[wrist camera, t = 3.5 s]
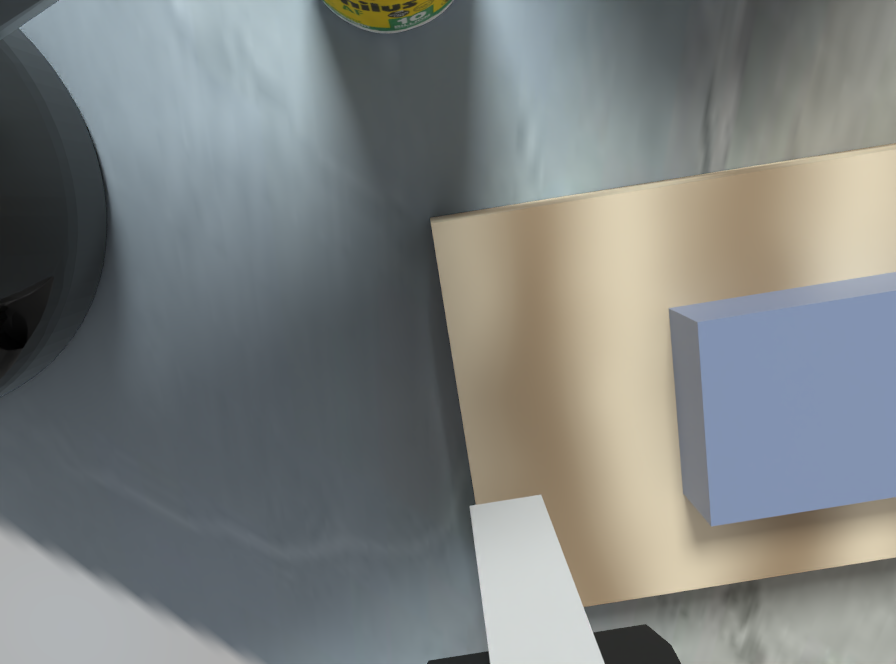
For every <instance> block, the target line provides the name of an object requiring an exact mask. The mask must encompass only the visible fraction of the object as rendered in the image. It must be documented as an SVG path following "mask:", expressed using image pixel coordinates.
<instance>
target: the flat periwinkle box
mask: <svg viewBox="0 0 896 664" xmlns="http://www.w3.org/2000/svg"><path fill="white" fill-rule="evenodd" d="M669 319H670V331H671V344H672V357H673V370H674V383H675V396H676V409H677V422H678V434H679V447H680V460H681V473H682V486H683V494H684V495H685V496H686V497H687V498H688V500H689V501H690V502H691V503H692V504H693V506H694V507H695V508H696V509H697V510H698V511H699V513H700V514H701V515H702V516H703V517H704V518H705V520H706V521H707V522H708V523H709V524H710V526H718V525H724V524H730V523H736V522H743V521H749V520H755V519H761V518H768V517H774V516H780V515H786V514H793V513H799V512H805V511H812V510H818V509H824V508H830V507H837V506H843V505H849V504H855V503H862V502H868V501H874V500H880V499H887V498H893V497H896V272H892V273H886V274H880V275H873V276H867V277H861V278H855V279H848V280H842V281H836V282H830V283H823V284H817V285H811V286H804V287H798V288H792V289H786V290H779V291H773V292H767V293H761V294H754V295H748V296H742V297H736V298H729V299H723V300H717V301H711V302H704V303H698V304H692V305H686V306H679V307H673V308H669Z"/></svg>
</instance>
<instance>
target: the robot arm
mask: <svg viewBox="0 0 896 664" xmlns="http://www.w3.org/2000/svg"><path fill="white" fill-rule="evenodd" d="M57 1H59V0H0V397H1V396H3V395H5V394H7V393H9V392H11V391H12V390H14V389H16V388H18V387H20V386H21V385H23V384H24V383H26V382H27V381H29V380H30V379H32V378H33V377H34V376H35V375H37V374H38V373H39V372H41V371H42V370H43V369H44V368H45V367H46V366H47V365H48V364H50V363H51V362H52V361H53V360H54V359H55V358H56V357H57V356H58V354H59V353H60V352H61V351H62V350H63V349H64V348H65V346H66V345H67V344H68V342H69V341H70V340H71V338H72V337H73V336H74V334H75V333H76V331H77V330H78V328H79V326H80V325H81V323H82V321H83V319H84V317H85V316H86V314H87V312H88V310H89V308H90V305H91V303H92V300H93V298H94V295H95V293H96V289H97V286H98V283H99V280H100V276H101V271H102V267H103V262H104V255H105V249H106V235H107V213H106V201H105V193H104V186H103V180H102V175H101V171H100V167H99V163H98V159H97V156H96V153H95V149H94V146H93V143H92V141H91V138H90V135H89V133H88V130H87V128H86V125H85V123H84V121H83V119H82V117H81V115H80V112H79V110H78V108H77V106H76V105H75V103H74V101H73V99H72V97H71V95H70V94H69V92H68V90H67V89H66V87H65V86H64V84H63V82H62V81H61V79H60V78H59V76H58V75H57V73H56V72H55V71H54V69H53V68H52V67H51V65H50V64H49V62H48V61H47V60H46V58H45V57H44V56H43V55H42V54H41V52H40V51H39V50H38V49H37V48H36V47H35V45H34V44H33V43H32V42H31V41H30V40H29V39H28V38H27V37H26V36H25V35H24V34H23V33H22V31H21V30H20V29H19V27H21V26H22V25H23V24H25V23H26V22H28V21H29V20H31V19H32V18H34V17H35V16H37V15H38V14H40V13H41V12H43V11H44V10H45V9H47V8H48V7H50V6H51V5H53V4H54V3H56V2H57ZM470 513H471V521H472V528H473V536H474V544H475V551H476V559H477V566H478V574H479V581H480V589H481V597H482V604H483V612H484V619H485V627H486V634H487V642H488V650H489V651H487V652H481V653H475V654H468V655H462V656H455V657H449V658H443V659H436V660H430V661H428V663H427V664H681V663H680V661H679V659H678V657H677V655H676V653H675V651H674V650H673V648H672V646H671V645H670V644H669V643H668V642H667V641H666V640H664V639H663V638H662V637H661V636H660V635H658V634H657V633H656V632H655V631H653V630H652V629H651V628H650V627H649V626H647V625H646V624H645V625H638V626H632V627H625V628H619V629H613V630H606V631H600V632H594V633H593V631H592V629H591V626H590V623H589V621H588V618H587V615H586V613H585V610H584V607H583V605H582V602H581V599H580V597H579V594H578V591H577V589H576V586H575V583H574V581H573V578H572V575H571V573H570V570H569V567H568V565H567V562H566V559H565V557H564V554H563V551H562V549H561V546H560V543H559V541H558V538H557V535H556V533H555V530H554V527H553V525H552V522H551V520H550V517H549V514H548V512H547V509H546V506H545V504H544V501H543V498H542V496H541V495H535V496H529V497H522V498H516V499H510V500H503V501H497V502H491V503H484V504H478V505H472V506H470Z"/></svg>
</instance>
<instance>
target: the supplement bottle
mask: <svg viewBox="0 0 896 664" xmlns="http://www.w3.org/2000/svg"><path fill="white" fill-rule="evenodd" d="M322 1H323V2H324V3H325V5H326V6H327V7H328V8H329V9H330V10H331V11H332V12H334V13H335V14H336V15H337V16H339V17H340V18H342V19H343V20H345V21H346V22H348V23H350V24H352V25H354V26H356V27H358V28H361V29H363V30H367V31H371V32H375V33H390V34H391V33H398V32H403V31H407V30H410V29H413V28H416V27H419V26H422V25H424V24H426V23H428V22H430V21H432V20H434V19H435V18H436V17H438V16H439V15H441V14H442V13H443V12H444V11H445V10H446V9H447V8H448V7H449V6H450V5H451V4H452V2H453V1H454V0H322Z"/></svg>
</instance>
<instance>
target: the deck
mask: <svg viewBox="0 0 896 664" xmlns="http://www.w3.org/2000/svg"><path fill="white" fill-rule="evenodd" d="M430 221H431V228H432V234H433V240H434V246H435V253H436V259H437V265H438V271H439V278H440V284H441V290H442V296H443V303H444V309H445V315H446V321H447V328H448V334H449V340H450V346H451V353H452V359H453V365H454V371H455V378H456V384H457V390H458V396H459V403H460V409H461V415H462V421H463V428H464V434H465V440H466V446H467V453H468V459H469V465H470V471H471V478H472V484H473V490H474V496H475V503H476V505H478V504H484V503H491V502H497V501H503V500H510V499H516V498H522V497H529V496H535V495H541V496H542V498H543V501H544V504H545V506H546V509H547V512H548V514H549V517H550V520H551V522H552V525H553V527H554V530H555V533H556V535H557V538H558V541H559V543H560V546H561V549H562V551H563V554H564V557H565V559H566V562H567V565H568V567H569V570H570V573H571V575H572V578H573V581H574V583H575V586H576V589H577V591H578V594H579V597H580V599H581V602H582V605H583V607H588V606H594V605H600V604H606V603H613V602H619V601H625V600H631V599H638V598H644V597H650V596H656V595H663V594H669V593H675V592H682V591H688V590H694V589H700V588H707V587H713V586H719V585H725V584H732V583H738V582H744V581H751V580H757V579H763V578H769V577H776V576H782V575H788V574H794V573H801V572H807V571H813V570H819V569H826V568H832V567H838V566H845V565H851V564H857V563H863V562H870V561H876V560H882V559H888V558H895V557H896V497H893V498H887V499H880V500H874V501H868V502H862V503H855V504H849V505H843V506H837V507H830V508H824V509H818V510H812V511H805V512H799V513H793V514H786V515H780V516H774V517H768V518H761V519H755V520H749V521H743V522H736V523H730V524H724V525H718V526H710V524H709V523H708V522H707V521H706V520H705V518H704V517H703V516H702V515H701V514H700V513H699V511H698V510H697V509H696V508H695V507H694V506H693V504H692V503H691V502H690V501H689V500H688V498H687V497H686V496H685V495H684V494H683V486H682V473H681V460H680V447H679V434H678V422H677V409H676V396H675V383H674V370H673V357H672V344H671V331H670V319H669V308H673V307H679V306H686V305H692V304H698V303H704V302H711V301H717V300H723V299H729V298H736V297H742V296H748V295H754V294H761V293H767V292H773V291H779V290H786V289H792V288H798V287H804V286H811V285H817V284H823V283H830V282H836V281H842V280H848V279H855V278H861V277H867V276H873V275H880V274H886V273H892V272H896V143H894V144H888V145H882V146H875V147H869V148H863V149H857V150H850V151H844V152H838V153H832V154H825V155H819V156H813V157H807V158H800V159H794V160H788V161H782V162H775V163H769V164H763V165H757V166H750V167H744V168H738V169H732V170H725V171H719V172H713V173H707V174H700V175H694V176H688V177H682V178H675V179H669V180H663V181H657V182H650V183H644V184H638V185H632V186H625V187H619V188H613V189H607V190H600V191H594V192H588V193H582V194H575V195H569V196H563V197H557V198H550V199H544V200H538V201H532V202H525V203H519V204H513V205H507V206H500V207H494V208H488V209H482V210H475V211H469V212H463V213H457V214H450V215H444V216H438V217H432V218H430Z"/></svg>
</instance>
